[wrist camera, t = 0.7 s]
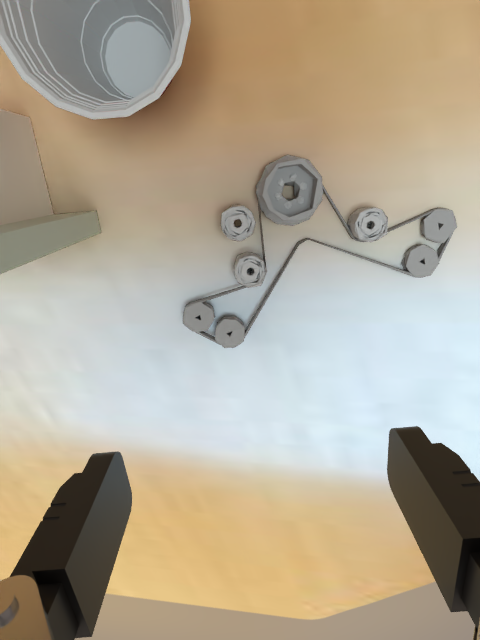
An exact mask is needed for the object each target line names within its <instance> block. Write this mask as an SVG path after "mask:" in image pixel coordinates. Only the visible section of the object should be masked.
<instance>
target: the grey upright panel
mask: <svg viewBox="0 0 480 640" xmlns="http://www.w3.org/2000/svg"><path fill="white" fill-rule="evenodd" d="M99 233H101V230H100V225H99V220H98V215H97V211H87V212H75V213H64V214H54V213H53V209H52V205H51V201H50V197H49V193H48V189H47V185H46V181H45V177H44V173H43V169H42V165H41V160H40V156H39V152H38V148H37V144H36V140H35V136H34V132H33V128H32V124H31V120H30V117H27V116H24V115H20V114H17V113H13V112H10V111H7V110H3V109H0V274H2V273H4V272H6V271H9V270H11V269H14V268H16V267H19V266H21V265H24V264H26V263H28V262H31V261H33V260H36V259H38V258H41V257H43V256H45V255H48V254H50V253H53V252H55V251H58V250H60V249H63V248H65V247H67V246H70V245H72V244H75V243H77V242H80V241H82V240H84V239H87V238H89V237H92V236H94V235H97V234H99Z"/></svg>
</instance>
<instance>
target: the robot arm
mask: <svg viewBox="0 0 480 640" xmlns="http://www.w3.org/2000/svg"><path fill="white" fill-rule="evenodd" d="M387 473H388V480H389V484H390V487H391V490H392V492H393V495H394V497H395V499H396V501H397V503H398V505H399V507H400V509H401V511H402V513H403V515H404V517H405V519H406V521H407V523H408V525H409V527H410V529H411V531H412V533H413V536H414V538H415V540H416V542H417V544H418V546H419V548H420V550H421V552H422V554H423V556H424V558H425V560H426V562H427V564H428V566H429V568H430V570H431V572H432V574H433V576H434V579H435V581H436V583H437V584H438V587H439V589H440V591H441V593H442V595H443V597H444V599H445V601H446V603H447V605H448V607H449V609H450V611H451V612H460V611H468V612H469V614H470V616H471V618H472V620H473V622H474V624H475V629H474V634H473V640H480V482H479V480H478V479H477V478H476V477H475V475H474V474H473V473H471V471H470V469H469V468H468V466H467V465H466V464H465V463H464V461H463V460H462V459H461V458H460V456H459V455H458V454H456V453H455V452H453V451H452V450H450V449H449V448H448V447H446V446H445V445H443V444H442V443H435V444H432V443H431V442H430V441H429V439H428V438H427V436H426V435H425V434H424V432H423V431H422V430H421V428H420V427H418V426H415V427H403V428H392V429H391V430H390V433H389V447H388V465H387ZM131 506H132V492H131V487H130V484H129V480H128V476H127V473H126V469H125V465H124V461H123V458H122V455H121V453H120V452H107V453H96V454H93V455H92V456H91V457H90V459H89V461H88V463H87V464H86V466H85V468H84V470H83V472H82V473H75V474H73V475H72V476H71V477H70V478H69V479H68V480H67V481H66V482H65V483H64V484H63V485H62V486H61V487H60V488H59V490H58V492H57V494H56V495H55V497H54V499H53V501H52V503H51V507H49V508H48V510H47V512H46V513H45V515H44V517H43V521H41V522H40V524H39V526H38V528H37V529H36V531H35V533H34V535H33V536H32V538H31V540H30V542H29V544H28V545H27V547H26V549H25V551H24V553H23V554H22V556H21V558H20V560H19V561H18V563H17V565H16V567H15V569H14V570H13V572H12V574H11V575H10V577H9V578H7V579H4V580H2V581H0V640H74V639H75V638H81V637H92V634H93V631H94V627H95V624H96V621H97V618H98V615H99V612H100V608H101V605H102V602H103V599H104V595H105V592H106V589H107V586H108V583H109V580H110V576H111V573H112V570H113V567H114V564H115V560H116V557H117V554H118V551H119V548H120V544H121V541H122V538H123V535H124V531H125V528H126V525H127V522H128V519H129V515H130V512H131Z"/></svg>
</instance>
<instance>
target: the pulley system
mask: <svg viewBox="0 0 480 640" xmlns="http://www.w3.org/2000/svg"><path fill="white" fill-rule="evenodd" d="M284 185H287V186H294V196H295V198H294V199H285V198H284V197H283V196H282V190H283V187H284ZM256 189H257V190H256V194H257V197H258V206H259V217H260V229H261V239H262V249H263V259H264V261H263V260H262V258H261V257H260V256H259V255H258V254H255V253H248V252H245V253H243V254H240V255H238V256H237V258H236V261H235V264H234V272H235V277H236V279H237V281H238V283H240V284H241V285H243V286H241V287H238V288H235V289H232V290H228V291H225V292H222V293H219V294H216V295H213V296H209V297H206V298H203V299H200V300H197V301H194V302H190V303H189V304H188V305H186V306H185V309H184V314H183V324H184V325H185V326H186V327H188V328H189V329H190V330H192V331H194V332H196V333H198V334H200V335H202V336H204V337H206V338H208V339H210V340H212V341H214V342H216V343H218V344H220V345H222V346H223V347H224V348H234V347H236V346H238V345H239V344H241V343H242V342H243V341H244V338H245V336H246V335H247V333H248V331H249V329H250V328H251V326H252V324H253V323H254V321H255V319H256V318H257V316H258V314H259V312H260V311H261V309H262V307H263V306H264V304H265V302H266V300H267V299H268V297H269V295H270V294H271V292H272V290H273V288H274V287H275V285H276V283H277V282H278V280H279V278H280V276H281V275H282V273H283V271H284V270H285V268H286V266H287V264H288V263H289V261H290V259H291V258H292V256H293V254H294V253H295V251H296V249H297V247H298V246H299V244H301V243H303V242H304V241H306V240H311V241H314V242H317V243H320V244H323V245H326V246H328V247H331V248H334V249H337V250H340V251H343V252H346V253H348V254H351V255H354V256H357V257H360V258H363V259H365V260H368V261H371V262H374V263H377V264H380V265H382V266H385V267H388V268H391V269H394V270H397V271H400V272H402V273H405V274H408V275H411V276H414V277H418V278H421V277H425V276H430V275H431V274H432V273H433V271H434V270H435V269H436V267H437V266H438V264H439V261H440V259H441V257H442V254H443V252H444V250H445V248H446V246H447V244H448V242H449V240H450V238H451V236H452V234H453V232H454V230H455V229H456V228H457V225H456V219H455V216H454V213H453V211H452V210H449V209H445V208H436V209H432V210H429V211H427V212H425V213H423V214H421V215H419V216H416V217H414V218H412V219H410V220H407V221H405V222H403V223H401V224H398V225H396V226H394V227H391V228H389V229H387V225H388V218H387V216H386V215H385V213H384V212H383V210H382V209H379V208H375V207H371V208H360V209H358V210H356V211H355V212H354V213H352V214H351V215H350V217H349V219H348V224H346V223H345V221H344V219H343V218H342V216H341V214H340V213H339V211H338V209H337V208H336V206H335V204H334V203H333V201H332V199H331V198H330V196H329V195H328V193H327V191H326V190H325V188H324V186H323V185H322V176H321V175H320V174H319V172H318V171H317V170H316V169H315V167H314V166H313V165H312V164H311V162H310V161H309V160H307V159H303V158H299V157H295V156H291V155H286V156H284V157H282V158H280V159H278V160H276V161H275V162H271V163H270V164H269V165H267V166H266V167H265V169H264V172H263V174H262V177H261V179H260V180H259V182H258V184H257V185H256ZM323 191H324V193H325V195H326V196H327V198H328V200H329V201H330V203H331V205H332V207H333V208H334V210H335V212H336V213H337V215H338V217H339V218H340V220H341V222H342V223H343V225H344V227H345V228H346V230H347V232H348V234H349V235H350V237H351V238H352V239H354V240H357V241H360V242H367V241H369V242H373V241H376V240H378V239H380V238H381V237H383V236H384V235H386V234H387V232H390V231H392V230H394V229H396V228H399V227H401V226H403V225H405V224H408V223H410V222H412V221H414V220H417V219H419V218H421V217H424V216H425V218H424V219H423V220H422V222H421V233H422V234H423V235H424V236H425V238H426V240H431V241H433V242H436V243H442V244H441V246H440V248H439V250H438V251H435V250H433V249H432V248H430V247H428V246H427V245H423V244H422V245H421V246H413V247H412V248H410V249H409V250H408V251H407V252H406V253H405V257H404V258H403V260H402V262H401V264H402V266H403V268H404V270H405V271H404V270H401V269H398V268H395V267H392V266H389V265H386V264H383V263H380V262H377V261H374V260H371V259H368V258H365V257H362V256H359V255H356V254H353V253H351V252H348V251H345V250H342V249H339V248H336V247H333V246H330V245H327V244H324V243H321V242H318V241H315V240H312V239H309V238H306V239H304V240H302V241H299V242H298V243H297V244H296V246H295V248H294V249H293V251H292V253H291V254H290V256H289V258H288V259H287V261H286V263H285V264H284V266H283V268H282V269H281V271H280V273H279V274H278V276H277V278H276V279H275V281H274V283H273V284H272V286H271V288H270V289H269V291H268V293H267V294H266V296H265V298H264V299H263V301H262V303H261V304H260V306H259V308H258V309H257V311H256V313H255V314H254V316H253V318H252V319H251V321H250V323H249V324H248V326H247V328H246V329H245V327H244V325H243V322H242V321H241V320H239V319H238V318H237V317H231V316H224V317H223V318H222V319H221V320H220V321H219V322H217V325H216V329H215V337H214V336H212V335H210V334H208V333H206V332H204V331H207V330H208V329H209V327H210V325H211V324H212V322H213V321H214V318H215V315H214V310H213V306H211V305H210V304H208V303H206V302H205V301H207V300H210V299H213V298H216V297H219V296H222V295H225V294H228V293H231V292H234V291H237V290H240V289H243V288H246V287H248V288H249V287H255V286H261V285H262V283H263V280H264V278H265V275H266V273H267V270H266V263H265V253H264V244H263V234H262V224H261V215H260V209H261V210H262V211H263V212H264V213H265V216H266V217H267V218H269V219H270V220H272V221H273V222H274V223H277V224H281V225H291V226H293V225H296V224H299V223H301V222H304V221H306V220H309V219H310V217H311V216H312V215H313V213H314V212H315V210H316V208H317V207H318V206H319V204H320V203H321V201H322V195H323ZM259 204H260V205H259ZM236 219H240V220H241V221H242V223H241V226H238V227H236V226H235V225H234V221H235V220H236ZM255 223H256V222H255V219H254V217H253V214H252V212H251V211H250V210H249V209H247V208H246V207H244V206H242V205H232V206H231V207H229V208H228V209H227V210H226V211H224V212H223V213H222V215H221V229H222V231H223V233H224V234H225V235H226V237H227V238H229V239H231V240H235V241H242V240H244V239H246V238H248V237H249V236H251V235H252V234H253V231H254V228H255ZM438 223H439V224H438ZM355 238H357V239H355ZM248 268H253V270H252V271H247V269H248ZM199 315H200V316H199ZM229 332H231V333H229Z"/></svg>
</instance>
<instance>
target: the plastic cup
mask: <svg viewBox="0 0 480 640" xmlns="http://www.w3.org/2000/svg"><path fill="white" fill-rule="evenodd" d="M190 23H191V16H190V6H189V0H0V45H1V47H2V48H3V50H4V52H5V53H6V55H7V56H8V58H9V59H10V61H11V62H12V64H13V66H14V67H15V69H16V70H17V72H18V73H19V75H20V76H21V78H22V79H23V80H24V81H26V82H27V83H28V84H29V85H30V86H32V87H33V88H34V89H35V90H36V91H38V92H39V93H40V94H41V95H42V96H44V97H45V98H46V99H47V100H48V101H50V102H51V103H52V104H53V105H54V106H56V107H58V108H61V109H64V110H67V111H70V112H73V113H75V114H78V115H81V116H84V117H87V118H90V119H92V120H93V119H105V118H117V117H129V116H130V115H132V114H133V113H135V112H137V111H138V110H140V109H142V108H143V107H145V106H147V105H148V104H150V103H152V102H153V101H155V100H157V99H158V98H159V97H160V96H161V95H162V94H163V93H164V92H165V90H166V89H167V87H168V86H169V85H170V83H171V82H172V78H173V77H174V75H175V74H176V72H177V71H178V69H179V68H180V66H181V64H182V59H183V55H184V50H185V46H186V41H187V37H188V32H189V28H190Z"/></svg>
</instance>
